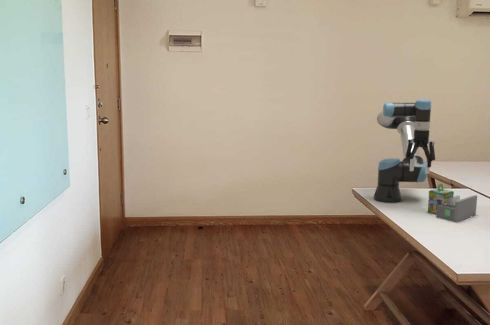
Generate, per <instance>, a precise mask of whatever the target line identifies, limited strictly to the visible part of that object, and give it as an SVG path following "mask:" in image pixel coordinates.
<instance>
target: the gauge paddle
mask: <svg viewBox="0 0 490 325" xmlns="http://www.w3.org/2000/svg"><path fill="white" fill-rule="evenodd" d="M458 200H461V195H453V197H451V198H448V199H445V200H443V201H442V204H444V206H446V207H451V208H455V201H458Z"/></svg>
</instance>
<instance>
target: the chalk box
mask: <svg viewBox="0 0 490 325" xmlns="http://www.w3.org/2000/svg"><path fill="white" fill-rule="evenodd" d="M454 196H455V194H454V191H452V190H448V189H444V186H443V183H440V184H438V185H437V188H434V189H430V190H428V201H427V202H428V205H427V207H428V208H427V213H430V214H437V205H442V206H444V204H442V201H443V200H445V199H448V198H451V197H454Z"/></svg>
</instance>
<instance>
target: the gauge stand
mask: <svg viewBox="0 0 490 325" xmlns="http://www.w3.org/2000/svg"><path fill="white" fill-rule="evenodd" d="M477 204H478V195H475V194H474V195H470V196H468V197H465V198H462V199H461V198H460V200H458V201H455V208H451V207H446V206H442V205H437V214H436V215H435V216H436V218H439V219H443V220H447V221H452V222H454V223H458V222H460V221H463V220H466V219H468V218H471V216H472V217H475V216H476V215H477Z"/></svg>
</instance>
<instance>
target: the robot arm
mask: <svg viewBox="0 0 490 325" xmlns="http://www.w3.org/2000/svg"><path fill="white" fill-rule="evenodd" d="M431 112H432V101H431V100H430V99H416V100H415V102H385V103H384V104H383V106H382V110H381V111H380V112H379V113H378V114H377V117H376V122H377V123H378V124H379V126H381V127H382V128H386V129H388V130H397V132H398V134H400V142H401V147H402V154H403V158H402V160H401V159H400V158H397V157H396V158H395V157H394V158H385V159H384V158H383V159H382V160H380V161H379V162H378V166H377V170H378V171H377V186H376V189H375V191H374V194H373V199H374V201H377V202H381V203H399V202H401V201H402V194H401V190H400V183H424V182H425V181H426V180H427V176H428V174H430V168H431V167H432V162H433V161H436V153H435V141H434V140H433V141H431V140H430V139H429V138H430V127H431ZM419 148H421V149H422V150H423V152H424V155H425V157H426V161H424V158H423V157H422V156H420V152H419Z"/></svg>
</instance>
